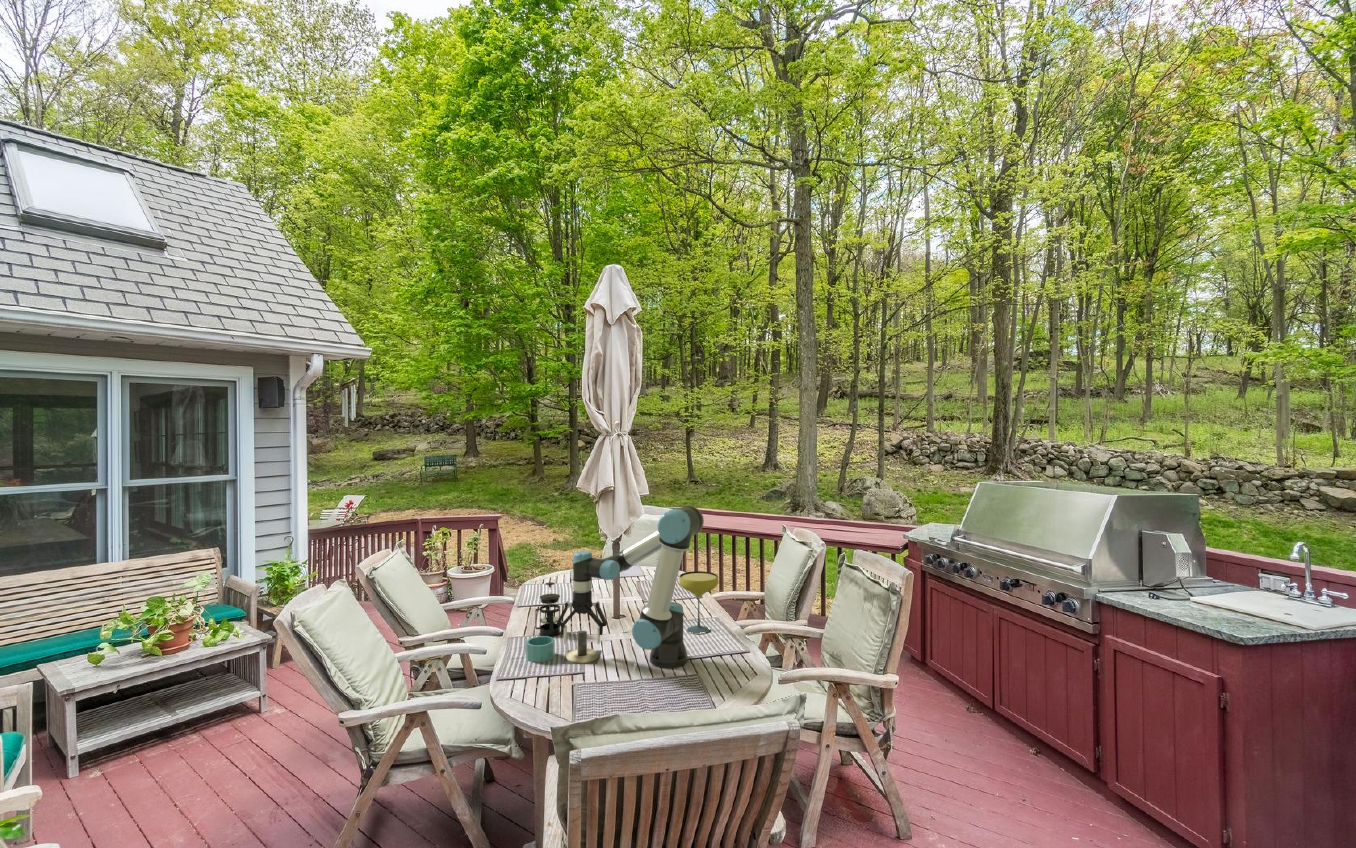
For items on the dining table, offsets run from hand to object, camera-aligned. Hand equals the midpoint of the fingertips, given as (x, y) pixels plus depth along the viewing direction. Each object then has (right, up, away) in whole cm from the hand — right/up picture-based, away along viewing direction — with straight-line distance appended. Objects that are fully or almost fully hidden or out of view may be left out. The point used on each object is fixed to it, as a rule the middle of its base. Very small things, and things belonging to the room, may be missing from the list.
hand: (581, 642), depth 236 cm
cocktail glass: (+48, -7, +33) cm, 59 cm away
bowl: (-17, -6, 0) cm, 18 cm away
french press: (-20, -7, +28) cm, 35 cm away
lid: (0, -6, 0) cm, 6 cm away
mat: (0, -6, 0) cm, 6 cm away
